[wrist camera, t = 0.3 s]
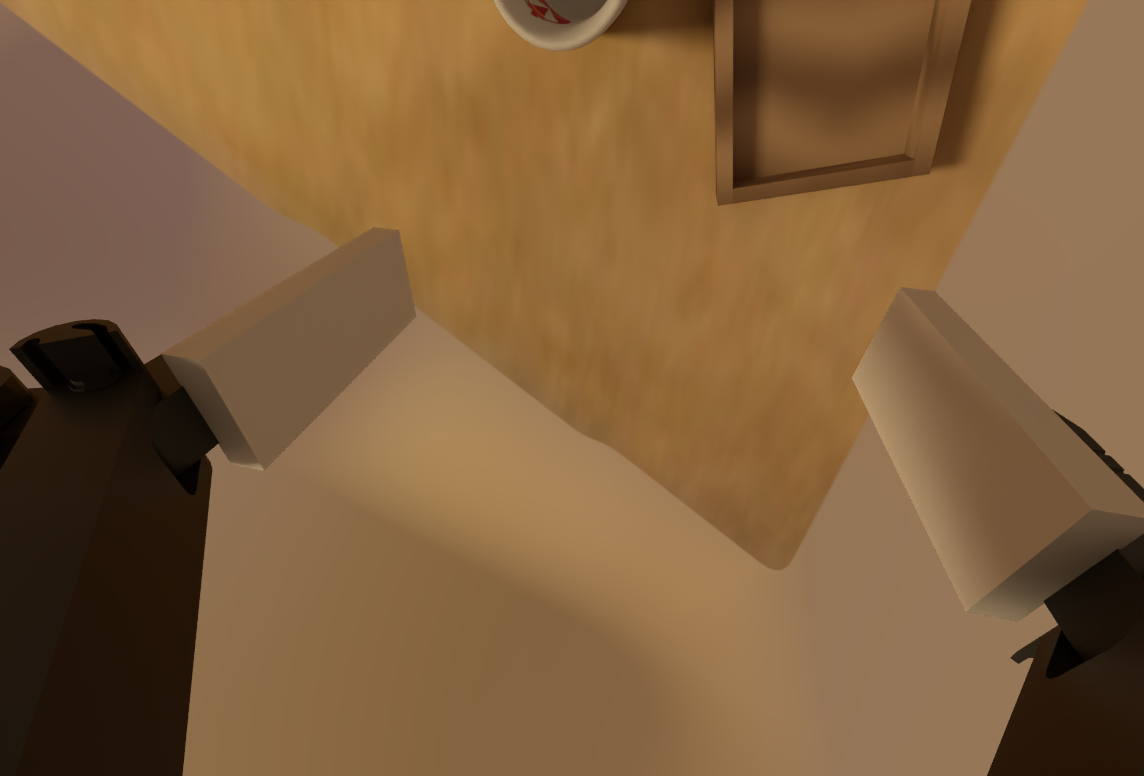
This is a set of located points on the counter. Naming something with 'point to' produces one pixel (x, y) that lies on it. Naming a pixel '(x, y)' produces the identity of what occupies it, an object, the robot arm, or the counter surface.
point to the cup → (560, 20)
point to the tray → (829, 91)
